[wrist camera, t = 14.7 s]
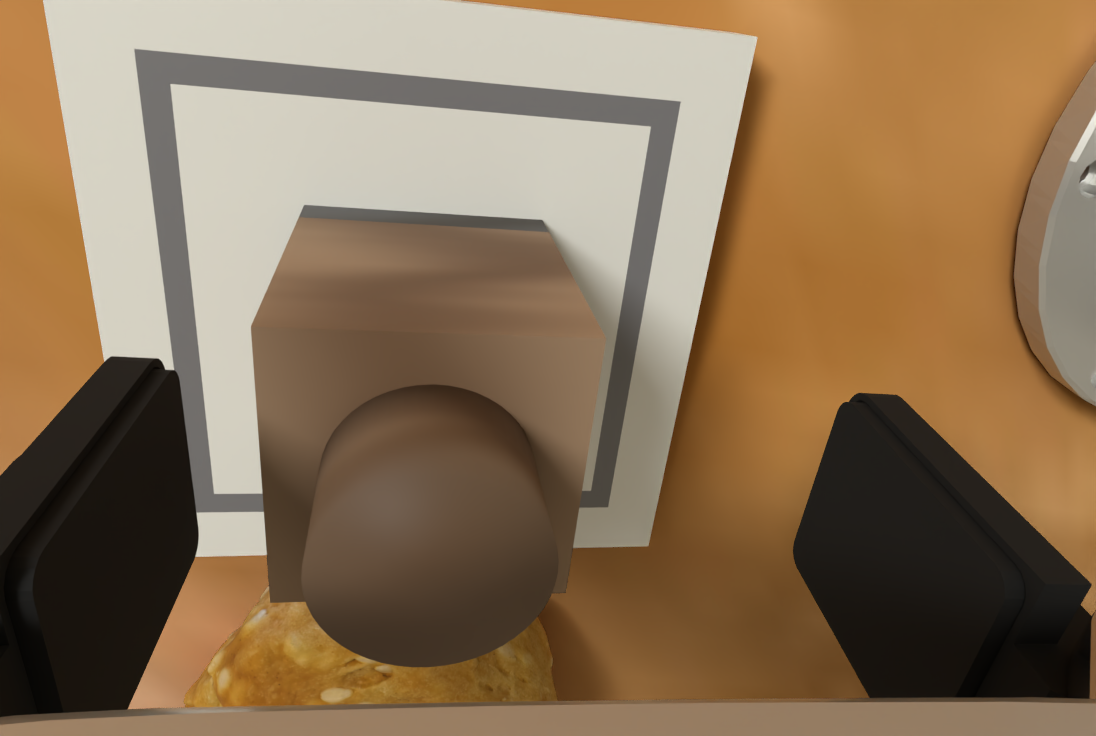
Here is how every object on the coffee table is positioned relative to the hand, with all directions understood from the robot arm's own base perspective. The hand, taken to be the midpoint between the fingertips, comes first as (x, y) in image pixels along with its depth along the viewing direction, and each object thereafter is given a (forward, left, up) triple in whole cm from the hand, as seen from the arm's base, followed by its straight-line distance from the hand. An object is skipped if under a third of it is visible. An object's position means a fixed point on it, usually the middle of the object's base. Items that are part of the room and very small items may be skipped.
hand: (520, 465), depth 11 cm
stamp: (+1, 0, -6) cm, 6 cm away
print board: (+1, 0, -7) cm, 7 cm away
